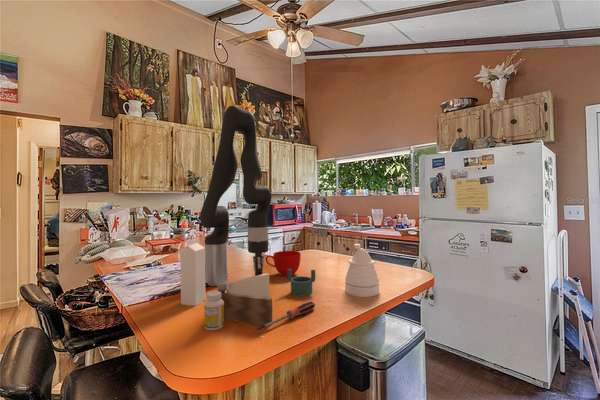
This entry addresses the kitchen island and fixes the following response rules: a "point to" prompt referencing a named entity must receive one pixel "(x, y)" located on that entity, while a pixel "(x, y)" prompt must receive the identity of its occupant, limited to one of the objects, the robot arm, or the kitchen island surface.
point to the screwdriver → (292, 313)
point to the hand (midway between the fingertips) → (258, 285)
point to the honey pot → (361, 275)
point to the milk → (192, 273)
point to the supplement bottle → (214, 311)
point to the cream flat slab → (248, 286)
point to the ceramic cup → (285, 261)
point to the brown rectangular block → (247, 308)
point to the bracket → (301, 284)
